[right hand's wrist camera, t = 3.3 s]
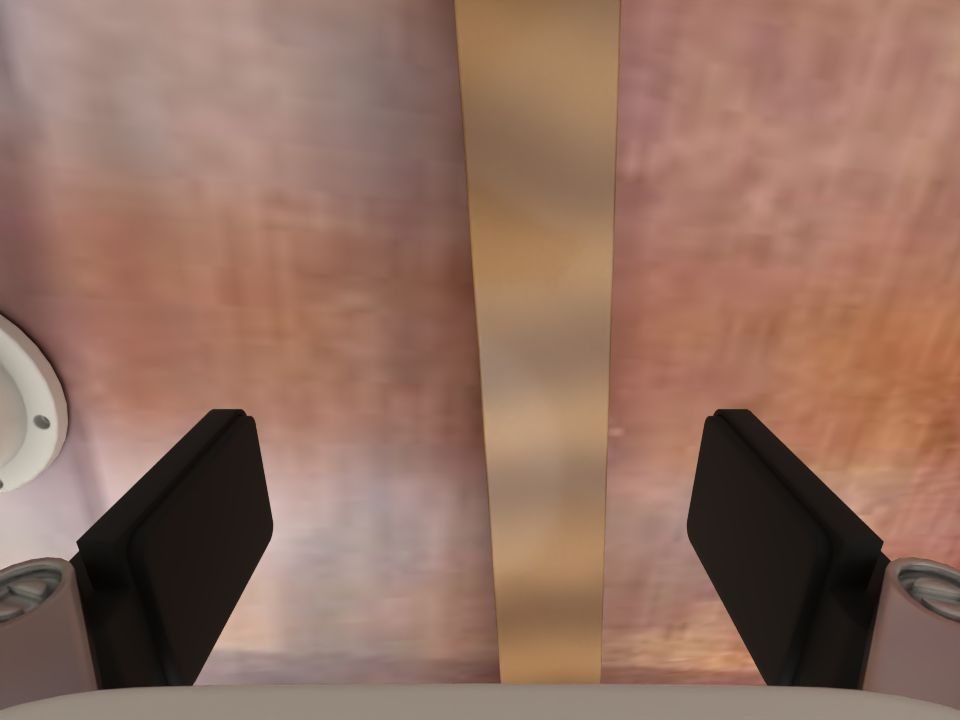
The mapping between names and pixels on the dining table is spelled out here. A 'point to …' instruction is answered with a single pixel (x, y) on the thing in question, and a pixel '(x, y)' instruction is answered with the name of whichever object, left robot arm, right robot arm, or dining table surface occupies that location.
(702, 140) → the dining table surface
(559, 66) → the bar
